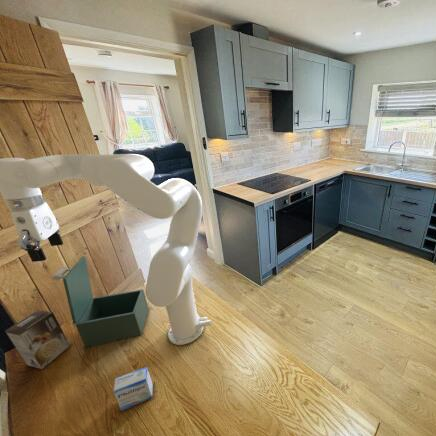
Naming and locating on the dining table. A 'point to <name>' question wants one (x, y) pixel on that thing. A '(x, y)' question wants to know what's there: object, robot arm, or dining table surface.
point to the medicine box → (133, 388)
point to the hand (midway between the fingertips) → (49, 252)
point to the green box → (113, 317)
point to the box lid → (76, 287)
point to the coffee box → (38, 338)
